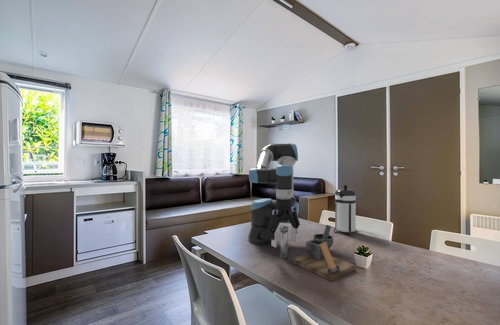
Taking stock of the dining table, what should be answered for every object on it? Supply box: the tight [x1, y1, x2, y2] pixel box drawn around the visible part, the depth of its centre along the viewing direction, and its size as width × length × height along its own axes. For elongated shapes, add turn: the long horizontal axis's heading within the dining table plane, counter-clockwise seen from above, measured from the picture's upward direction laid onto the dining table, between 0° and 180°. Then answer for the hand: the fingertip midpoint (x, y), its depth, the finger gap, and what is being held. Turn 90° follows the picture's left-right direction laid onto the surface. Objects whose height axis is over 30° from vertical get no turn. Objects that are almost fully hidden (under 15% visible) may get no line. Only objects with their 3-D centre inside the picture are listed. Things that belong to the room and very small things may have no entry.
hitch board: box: [292, 238, 356, 282], centre depth 104 cm, size 20×16×8 cm
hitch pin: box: [279, 225, 289, 259], centre depth 114 cm, size 4×4×14 cm
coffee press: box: [333, 184, 358, 236], centre depth 154 cm, size 17×16×30 cm
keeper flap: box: [320, 242, 338, 273], centre depth 96 cm, size 11×4×1 cm
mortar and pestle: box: [313, 224, 334, 250], centre depth 123 cm, size 11×9×12 cm
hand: (283, 243), depth 114 cm, fingers open, 12 cm apart
